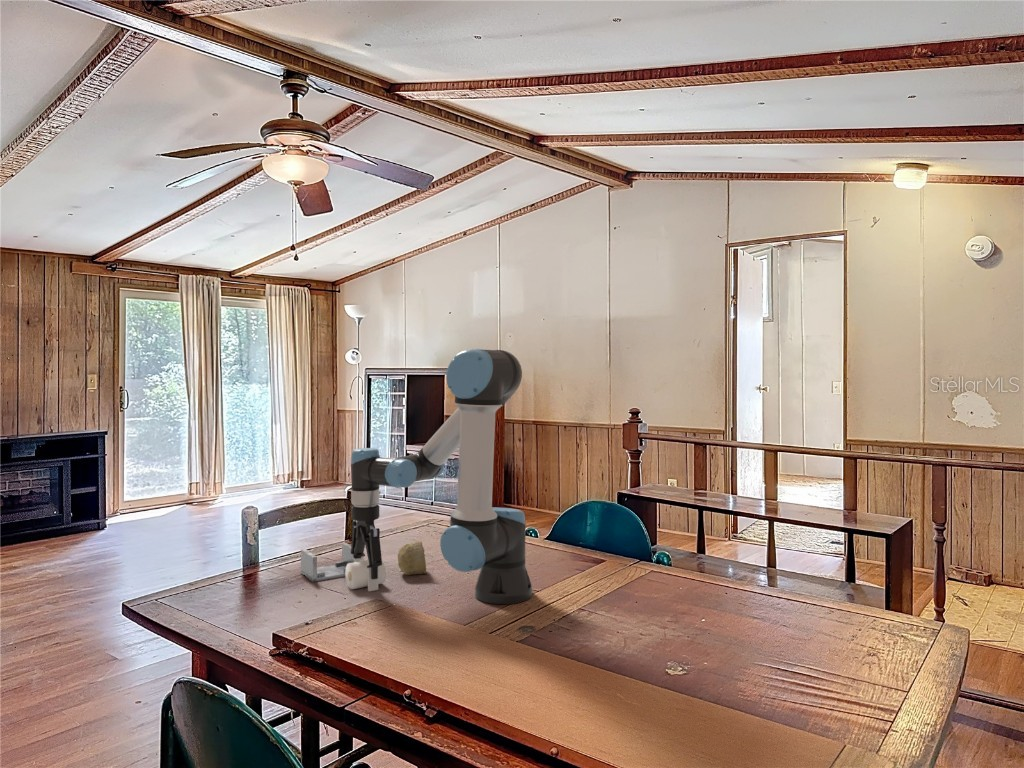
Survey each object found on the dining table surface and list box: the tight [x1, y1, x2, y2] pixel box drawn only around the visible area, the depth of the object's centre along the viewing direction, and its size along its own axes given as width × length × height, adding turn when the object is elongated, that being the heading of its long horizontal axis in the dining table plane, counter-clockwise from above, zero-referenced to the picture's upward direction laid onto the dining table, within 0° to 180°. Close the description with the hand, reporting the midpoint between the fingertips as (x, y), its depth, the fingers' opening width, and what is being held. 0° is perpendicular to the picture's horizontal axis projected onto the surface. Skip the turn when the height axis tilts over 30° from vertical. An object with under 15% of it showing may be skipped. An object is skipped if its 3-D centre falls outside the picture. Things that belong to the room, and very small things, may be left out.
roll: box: [345, 559, 387, 590], centre depth 196 cm, size 9×7×7 cm
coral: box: [397, 540, 428, 576], centre depth 207 cm, size 10×10×10 cm
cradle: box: [300, 542, 355, 583], centre depth 208 cm, size 14×11×7 cm
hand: (366, 585), depth 195 cm, fingers open, 9 cm apart
